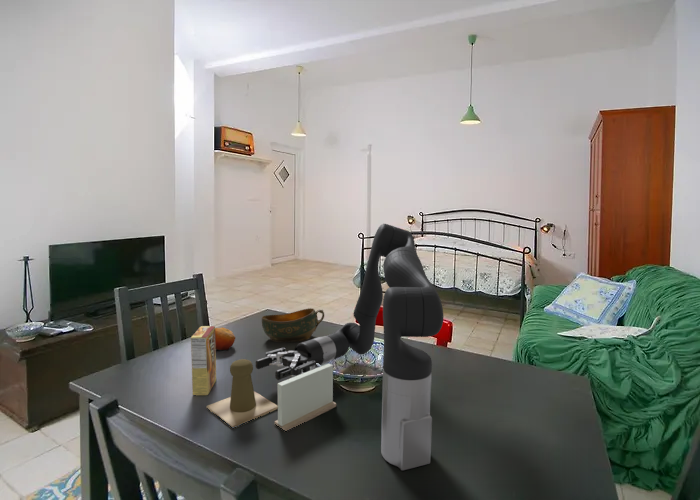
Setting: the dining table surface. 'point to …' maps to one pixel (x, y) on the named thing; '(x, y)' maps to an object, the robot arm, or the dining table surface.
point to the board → (238, 418)
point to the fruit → (224, 338)
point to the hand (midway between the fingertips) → (266, 370)
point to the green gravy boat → (291, 325)
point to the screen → (305, 397)
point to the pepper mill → (242, 386)
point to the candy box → (203, 360)
